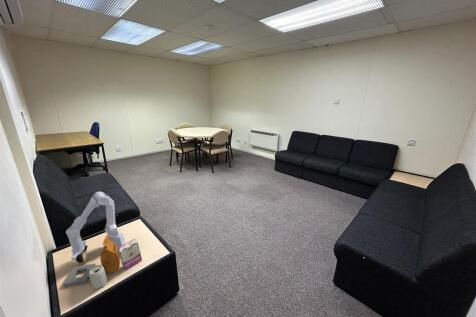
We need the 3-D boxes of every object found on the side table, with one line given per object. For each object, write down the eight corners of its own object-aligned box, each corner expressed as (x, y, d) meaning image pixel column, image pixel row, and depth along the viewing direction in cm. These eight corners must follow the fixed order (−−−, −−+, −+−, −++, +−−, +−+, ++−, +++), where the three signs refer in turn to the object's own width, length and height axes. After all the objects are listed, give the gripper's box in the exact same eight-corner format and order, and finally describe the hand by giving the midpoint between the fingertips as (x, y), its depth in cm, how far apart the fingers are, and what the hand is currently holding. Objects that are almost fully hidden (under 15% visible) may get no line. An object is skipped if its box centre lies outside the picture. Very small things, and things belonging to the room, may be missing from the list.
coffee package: (122, 256, 140) (116, 231, 132) (120, 271, 129) (112, 245, 121) (106, 260, 137) (98, 235, 129) (102, 276, 126) (93, 249, 118)
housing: (96, 266, 133) (95, 263, 132) (87, 283, 122) (86, 280, 121) (75, 269, 131) (74, 266, 130) (64, 286, 120) (63, 283, 119)
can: (97, 292, 117) (91, 277, 112) (90, 285, 121) (85, 271, 116) (110, 281, 123) (105, 267, 118) (103, 275, 126) (99, 261, 122)
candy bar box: (139, 256, 141) (135, 237, 135) (142, 260, 137) (138, 241, 131) (122, 266, 133) (116, 247, 127) (125, 270, 130) (119, 251, 124)
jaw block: (88, 258, 139) (86, 250, 136) (85, 263, 135) (82, 255, 132) (81, 259, 138) (78, 251, 135) (78, 264, 134) (74, 256, 131)
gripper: (75, 236, 136) (81, 251, 141) (63, 253, 123) (70, 269, 128) (87, 235, 138) (92, 250, 143) (76, 251, 125) (82, 267, 130)
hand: (82, 259), depth 136 cm, fingers closed on jaw block, 4 cm apart
